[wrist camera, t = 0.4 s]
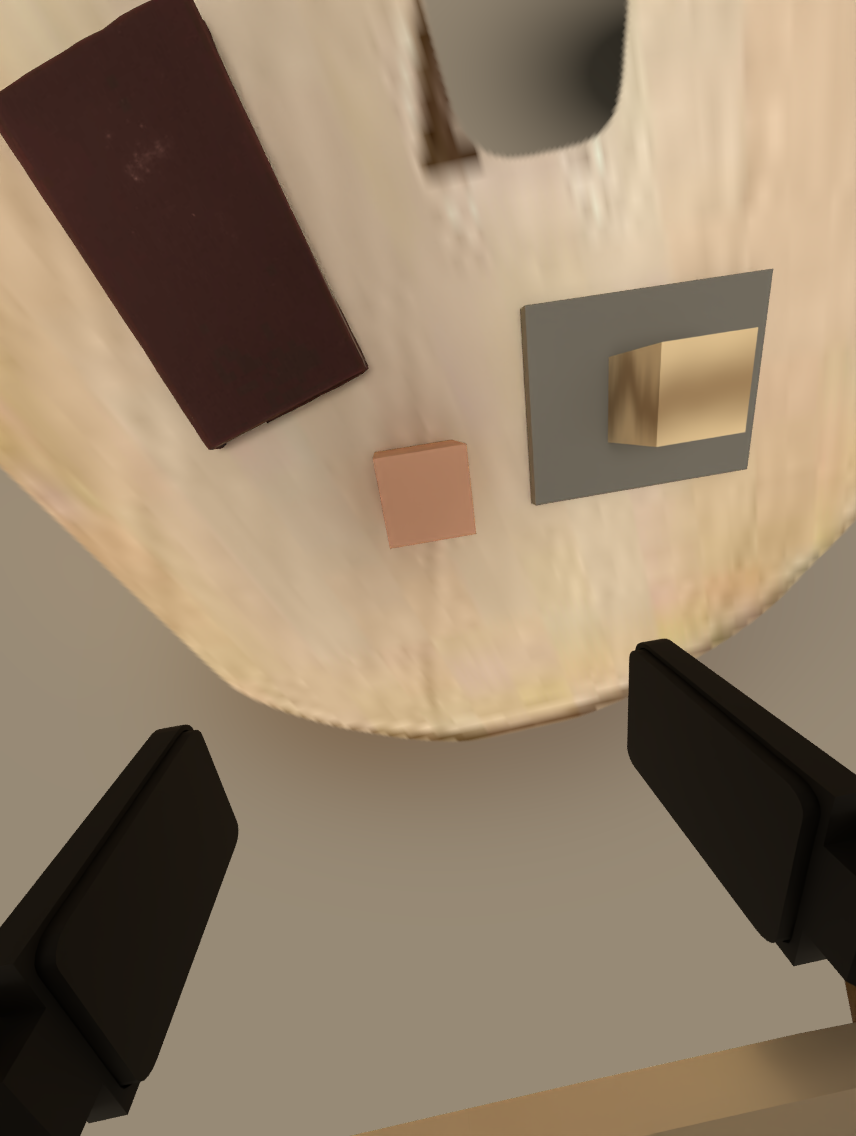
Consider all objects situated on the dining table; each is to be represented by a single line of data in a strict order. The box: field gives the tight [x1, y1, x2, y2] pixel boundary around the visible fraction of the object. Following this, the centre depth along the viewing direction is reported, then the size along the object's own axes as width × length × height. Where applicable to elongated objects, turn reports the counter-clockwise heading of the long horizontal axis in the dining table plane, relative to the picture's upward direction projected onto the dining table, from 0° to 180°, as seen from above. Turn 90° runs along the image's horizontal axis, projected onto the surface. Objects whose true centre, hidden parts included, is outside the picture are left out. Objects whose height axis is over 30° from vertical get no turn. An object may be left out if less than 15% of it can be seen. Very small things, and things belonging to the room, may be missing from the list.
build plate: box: [520, 269, 773, 505], centre depth 31 cm, size 14×18×1 cm
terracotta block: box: [373, 440, 476, 549], centre depth 29 cm, size 6×6×6 cm
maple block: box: [608, 327, 758, 447], centre depth 28 cm, size 6×6×6 cm
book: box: [0, 0, 368, 450], centre depth 25 cm, size 12×19×3 cm, turn 25°
